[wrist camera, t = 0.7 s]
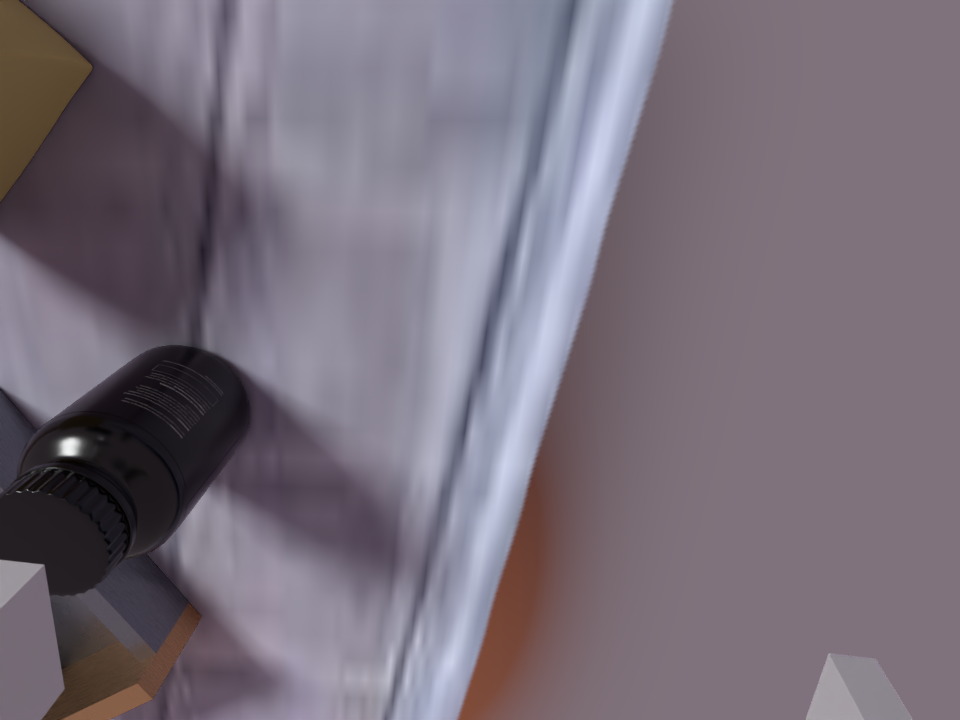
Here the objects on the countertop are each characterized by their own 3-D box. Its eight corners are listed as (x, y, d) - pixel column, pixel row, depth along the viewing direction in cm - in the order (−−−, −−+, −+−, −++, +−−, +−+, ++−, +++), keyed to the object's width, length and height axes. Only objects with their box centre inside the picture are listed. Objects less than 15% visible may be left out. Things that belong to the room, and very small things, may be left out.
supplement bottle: (98, 367, 36) (-90, 493, 25) (213, 322, 35) (68, 434, 24) (168, 477, 38) (22, 638, 27) (277, 438, 37) (172, 591, 26)
